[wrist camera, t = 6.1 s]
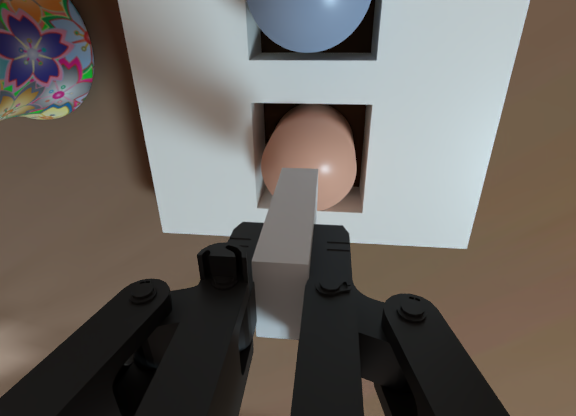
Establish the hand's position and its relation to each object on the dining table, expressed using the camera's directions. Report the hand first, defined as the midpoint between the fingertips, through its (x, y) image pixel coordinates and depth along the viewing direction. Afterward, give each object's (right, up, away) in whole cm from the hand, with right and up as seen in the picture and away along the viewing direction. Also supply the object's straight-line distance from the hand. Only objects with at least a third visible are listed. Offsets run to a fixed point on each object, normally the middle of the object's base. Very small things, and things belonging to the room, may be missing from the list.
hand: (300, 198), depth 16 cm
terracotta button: (+1, +4, +7) cm, 8 cm away
